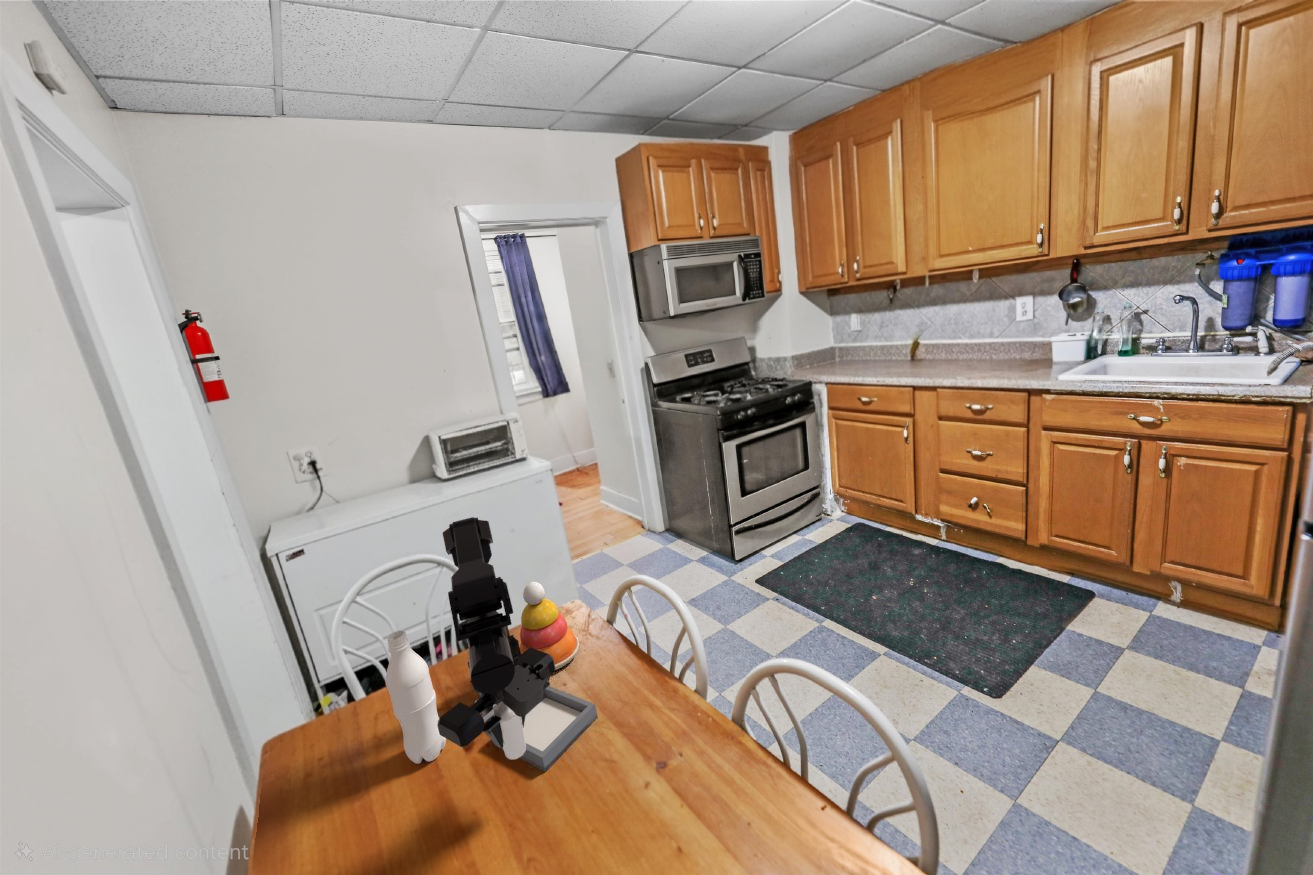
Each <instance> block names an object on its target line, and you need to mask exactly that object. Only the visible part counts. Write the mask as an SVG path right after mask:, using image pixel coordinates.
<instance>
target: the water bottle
mask: <svg viewBox="0 0 1313 875" xmlns="http://www.w3.org/2000/svg"><path fill="white" fill-rule="evenodd" d="M386 639H387V644H388V645H387V646H388V653H390V659H389V663H388V666H387V670H386V674H385V687H386V689H387V690H388V694H389V698H390V701H391V704H392V710H393V714H394V717H395V719H397V720H398V722H399V724H400V726H401V727H400V728H401V730H402V735H403V742H402V743H403V749H404V752H405V755H406V756H407V757H408V759H409V760H410V761H411V762H413V763H414V764H418V765H419V764H422V762H423V760H425V762H432V761H434V760H436V759H437V758H438V756H439V755H440V754H441V750H444V748H445V746H446V744H447V743H446V742H447V739H446V738H445V737H443V736H441V735H440V734H439V730H438V726H437V724H438V720H439V718H440V717H439V714H438V709H437V695H436V691H435V689H434V687H433V683H432V678H431V675H430V671H429V670H430V669H429V666H428V664H427V661H426V660H425V659H424V658H422V657H421V656H420V655H419V654H418V653H416V652H415V651H414V650H413V649H412V647H411V646H410V645H411V641H410V640H409V638H408V637H407V632H406V631H405V630H402V629H401V630H395V631H393V632H391V633H390V634H389V635H388V636H387V638H386Z"/></svg>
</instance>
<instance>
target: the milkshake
mask: <svg viewBox="0 0 1313 875" xmlns="http://www.w3.org/2000/svg"><path fill="white" fill-rule="evenodd" d="M493 708H494V710H493V711H494V715H496V716H498V717H500V718H501V720H500V722H499V723H498V724H499V728H500V731H501V735H502V739H503V749H502V750H503V752H504V755H505V757H506V758H507V759H508V760H517V759H520V758H519V757H521V756H522V755H523V754H524V753H525V751H526V743H525V737H524V731H523V725H522V717H519V716H517V715H516V714H515V713H514V712H513V711H512V710H511V709H510V708H509V707H507V706H506V705H505V704H504V703H503V702H500V703H499V704H498V705H495V706H494V707H493Z"/></svg>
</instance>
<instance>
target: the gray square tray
mask: <svg viewBox="0 0 1313 875" xmlns="http://www.w3.org/2000/svg"><path fill="white" fill-rule="evenodd" d="M598 718H599V716H598V711H597V707H596V704H595V703H593V702H592V701H589V700H586V699H583V698H580V697H579V696H576V695H573V694H571V693H568V692H566V691H563V690H561V689H558V688H555V687H553V686H551V685H549V686H548V687H547V688H546V689H545V690H544V691H543V697H542V701H541V702H540V703H539V704H537V705H536V706H534V707H533V708H532V709H531V710H530V711H529V713H528V714H526V716H525V722H524V728H523V731H524V737H525V743H526V751H525V753H524V754H523V755H522V756H521V757H519V758H518V759H520V760H521V761H524V762H526V763H527V764H530V765H531V766H533V767H535V768H537V769H539V770H540V771H543V772H545V773H546V772H547V771H548V770H549V769H550V768H552V766H554V764H555V763H556V762H557V761H558V760H559V759H560V758H561V757H562V756H563V755H564V754H565V753H566V751H567V750H568V749H569V748H570V747H571V746H572V745H573V744H574V743H575V742H576V741H577V740H578V739H579V738H580V737H581V736H582V735H583V734H584V733H585V732H586V731H587V730H588V728H589V727H591V725H593V723H594V722H595V721H596V720H597V719H598ZM491 741H492V740H491ZM492 744H493V746H496V747H497V748H499V749H501V750H503V748H500V747H498V746H497V745H496V744H495V743H494V742H493V741H492Z"/></svg>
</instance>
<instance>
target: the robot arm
mask: <svg viewBox="0 0 1313 875" xmlns="http://www.w3.org/2000/svg"><path fill="white" fill-rule="evenodd" d="M448 526H449V527H448V528H447V529H445V530H444V531H443V532H442V538H443V542H444V547H445V552H446V553H447V555H451V558H452V560H453V564H454V567H456V568H458V569H457V570H456V571H455V572H454V573H453V575H452V576H451V577H450V579H451V580H450V582H451V590H450V591H448V592H447V595H448V601H449V606H450V612H451V617H452V622H453V628H454V633H455V636H456V642H461V641H466V642H467V646H468V653H467V654H468V655H467V656H468V662H467V666H468V669H469V676H470V682H471V685H472V687H473V691H474V692H475V693H478V694H479V695H480V696H479V697H478V698H477V699H476V700H474V703H473V704H471V706H469V705H466V704H465V703H462V702H461V701H459V702H458V703H457V704H455V705H454V706H453V707H452V708H450V709H449V710H448V711H446V712H445V713H443V714H442V715H441V716H440V717H439V720H438V724H437V726H438V730H439V734H440V735H441V736H443V737H445V738H446V740H448V741H449V742H452V743H454V744H455V745H457V746H458V747H461V748H462V747H466V746H467V747H468V746H469V745H470V744H471V743H472V742H473V741H474V740H475V739H477V738H478V737H479V736H480V735H481V734H482V733H485V734H486V735H487V737H488V738H490V740H491V741H493V742H494V743H495V744H496V745H497V746H498V747H497V746H496V747H497V748H499V747H500V748H499V749H501V748H503V739H502V735H501V731H500V728H499V724H498V723H499V722H500V720H501V718H500V717H498V716H496V715H494V711H493V710H494V708H493V707H494V706H495V705H498V704H499V703H500V702H503V703H504V704H505V705H506V706H507V707H509V708H510V709H511V710H512V711H513V712H514V713H515V714H516V715H517V716H519V717H522V725H523V728H524V722H525V716H526V714H528V713H529V711H530V710H531V709H532V708H533V707H534V706H536V705H537V704H539V703H540V702H541V701H542V697H543V691H544V690H545V689H546V688H547V687H548V686H551V683H550V678H551V674H552V673H553V672H554V671H556V670H555V664H554V659H553V657H552V656H551V655H550V654H548V653H545V652H542V651H539V650H537V649H534V648H531V647H530V648H529V649H527V650H526V651H525V652H524V653H522V654H521V652H520V643H519V639H517V638H516V637H514V634H510V630H509V626H511V625H513V624H512V620H511V615H512V614H514V609H513V605H512V601H511V596H510V593H509V588H508V585H507V582H505V581H504V579H503V578H502V577H501V576H498V577H496V573H495V570H494V569H495V568H494V565H492V564H490V563H489V562H490V561H491V559H492V555H493V553H492V548H491V544H493V543H494V541H493V540H494V539H493V536H492V530H491V527H490V523H489V520H481V519H479V517H474V516H472V517H467V518H465V519H459V520H456V521H453V522H452V523H450V524H448ZM502 608H503V610H504V614H503V612H500V613H499V612H498V610H501V609H502ZM460 621H461V622H463V621H467V622H466V623H464V624H463V625H461V627H460ZM493 742H492V743H493Z"/></svg>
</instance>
